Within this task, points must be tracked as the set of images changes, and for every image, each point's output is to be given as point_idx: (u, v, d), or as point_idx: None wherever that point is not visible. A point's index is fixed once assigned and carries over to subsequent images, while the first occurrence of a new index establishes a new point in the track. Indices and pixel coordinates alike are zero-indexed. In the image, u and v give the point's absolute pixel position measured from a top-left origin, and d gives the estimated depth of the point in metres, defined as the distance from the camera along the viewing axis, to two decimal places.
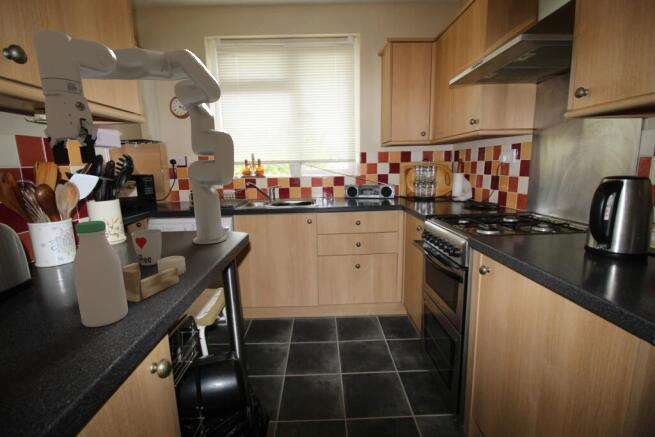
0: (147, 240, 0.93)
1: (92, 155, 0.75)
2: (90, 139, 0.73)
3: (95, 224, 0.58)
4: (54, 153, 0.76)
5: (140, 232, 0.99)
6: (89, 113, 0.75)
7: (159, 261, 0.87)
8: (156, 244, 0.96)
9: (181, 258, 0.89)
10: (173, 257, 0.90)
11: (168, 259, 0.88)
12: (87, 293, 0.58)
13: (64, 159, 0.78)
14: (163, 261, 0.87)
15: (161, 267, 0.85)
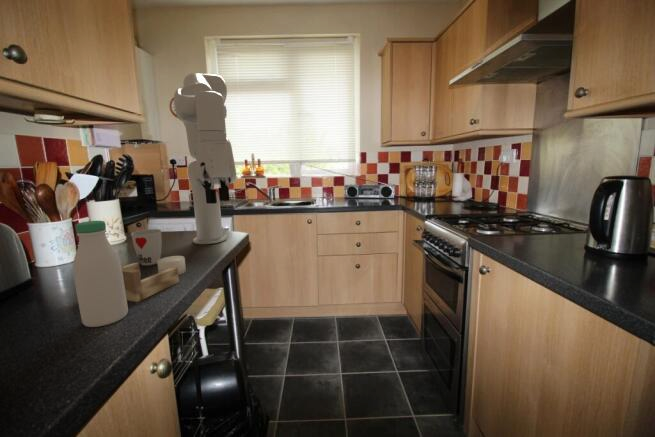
0: (147, 240, 0.93)
1: None
2: None
3: (95, 224, 0.58)
4: (215, 194, 0.88)
5: (140, 232, 0.99)
6: None
7: (159, 261, 0.87)
8: (156, 244, 0.96)
9: (181, 258, 0.89)
10: (173, 257, 0.90)
11: (168, 259, 0.88)
12: (87, 293, 0.58)
13: None
14: (163, 261, 0.87)
15: (161, 267, 0.85)
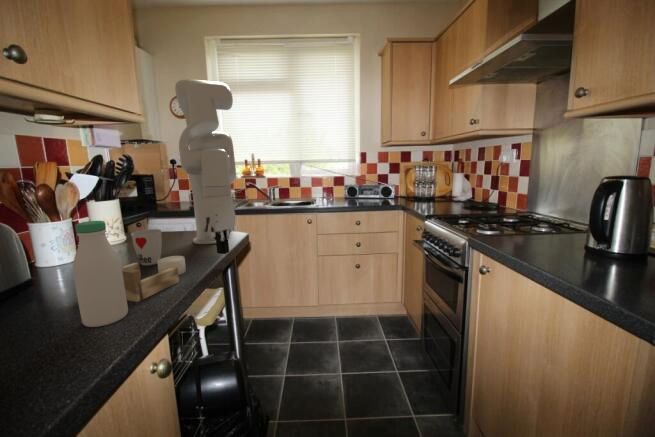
0: (147, 240, 0.93)
1: None
2: None
3: (95, 224, 0.58)
4: (226, 245, 0.93)
5: (140, 232, 0.99)
6: None
7: (159, 261, 0.87)
8: (156, 244, 0.96)
9: (181, 258, 0.89)
10: (173, 257, 0.90)
11: (168, 259, 0.88)
12: (87, 293, 0.58)
13: None
14: (163, 261, 0.87)
15: (161, 267, 0.85)
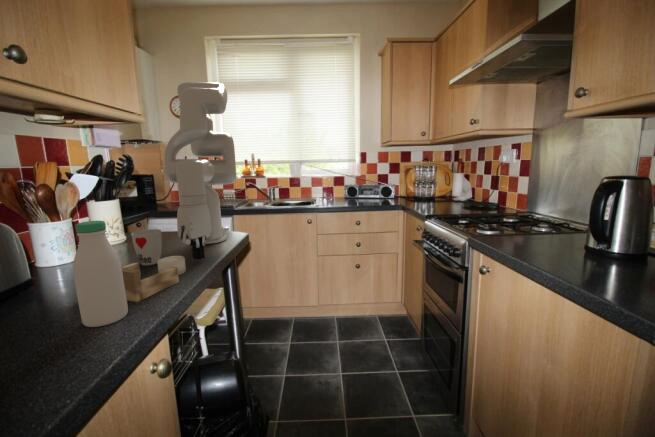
0: (147, 240, 0.93)
1: None
2: None
3: (95, 224, 0.58)
4: (201, 251, 0.97)
5: (140, 232, 0.99)
6: None
7: (159, 261, 0.87)
8: (156, 244, 0.96)
9: (181, 258, 0.89)
10: (173, 257, 0.90)
11: (168, 259, 0.88)
12: (87, 293, 0.58)
13: None
14: (163, 261, 0.87)
15: (161, 267, 0.85)
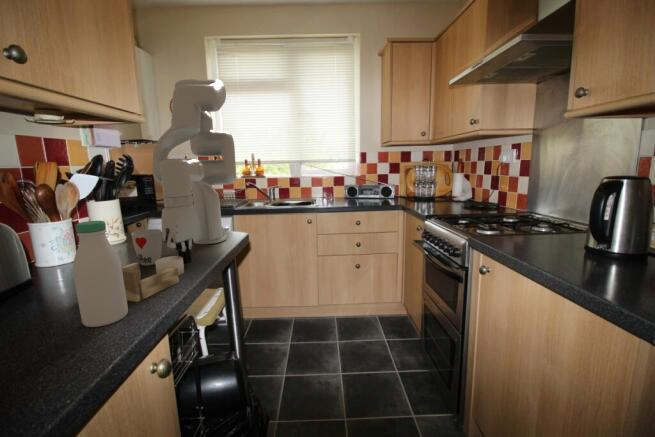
0: (147, 240, 0.93)
1: None
2: None
3: (95, 224, 0.58)
4: (187, 255, 0.92)
5: (140, 232, 0.99)
6: None
7: (157, 261, 0.86)
8: (156, 244, 0.96)
9: (179, 258, 0.88)
10: (171, 257, 0.90)
11: (167, 259, 0.88)
12: (87, 293, 0.58)
13: None
14: (161, 261, 0.86)
15: (159, 268, 0.85)
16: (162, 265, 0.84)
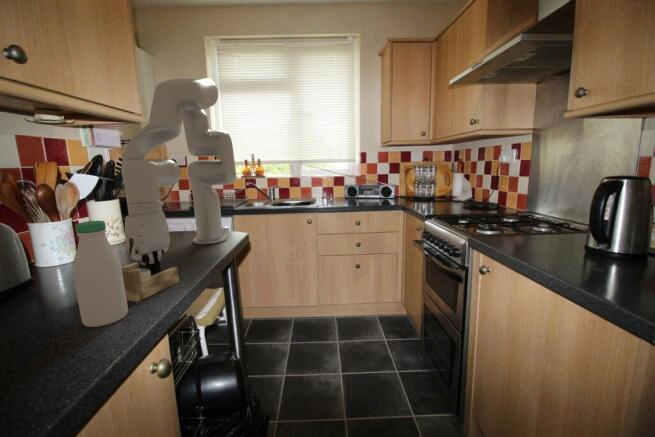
0: None
1: None
2: None
3: (95, 224, 0.58)
4: (156, 267, 0.82)
5: None
6: None
7: None
8: None
9: (146, 271, 0.78)
10: None
11: None
12: (87, 293, 0.58)
13: None
14: None
15: None
16: None
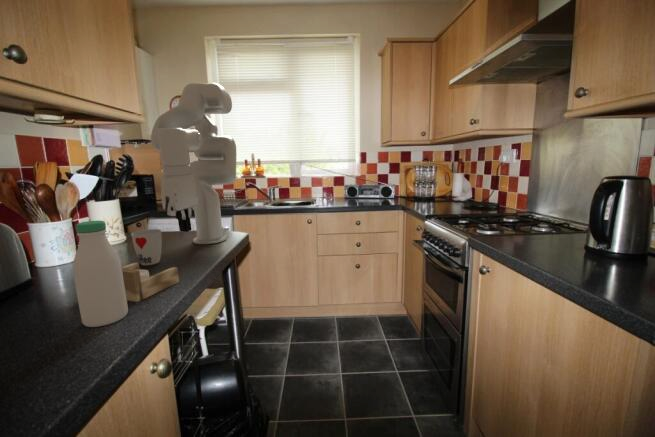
0: (147, 240, 0.93)
1: None
2: None
3: (95, 224, 0.58)
4: (187, 223, 0.95)
5: (140, 232, 0.99)
6: None
7: None
8: (156, 244, 0.96)
9: (145, 272, 0.78)
10: None
11: None
12: (87, 293, 0.58)
13: None
14: None
15: None
16: None
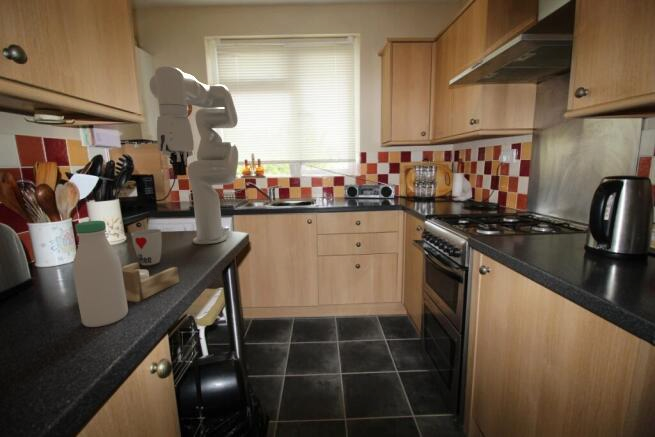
0: (147, 240, 0.93)
1: None
2: None
3: (95, 224, 0.58)
4: (182, 166, 0.94)
5: (140, 232, 0.99)
6: None
7: None
8: (156, 244, 0.96)
9: (144, 272, 0.78)
10: None
11: None
12: (87, 293, 0.58)
13: None
14: None
15: None
16: None
